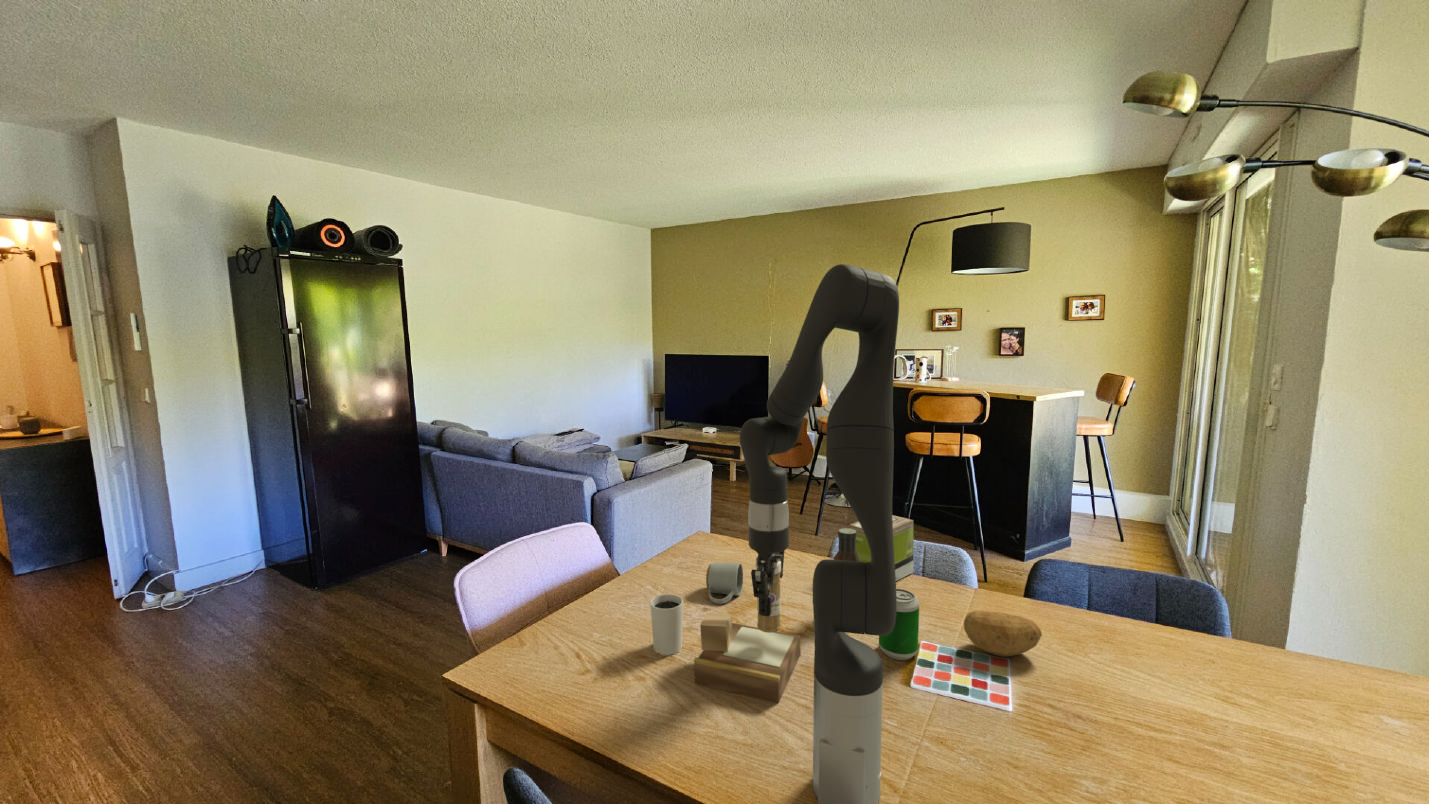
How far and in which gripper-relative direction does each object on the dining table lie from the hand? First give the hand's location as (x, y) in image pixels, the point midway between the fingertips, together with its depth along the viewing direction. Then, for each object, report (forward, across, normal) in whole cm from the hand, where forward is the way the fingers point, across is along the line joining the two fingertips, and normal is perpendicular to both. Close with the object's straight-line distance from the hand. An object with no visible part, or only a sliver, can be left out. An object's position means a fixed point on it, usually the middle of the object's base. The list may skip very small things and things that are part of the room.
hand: (768, 608), depth 109 cm
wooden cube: (+5, -5, +9) cm, 12 cm away
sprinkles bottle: (+4, 0, 0) cm, 4 cm away
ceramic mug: (+12, +25, +19) cm, 34 cm away
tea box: (+12, +50, -15) cm, 54 cm away
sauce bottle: (+12, +25, -11) cm, 30 cm away
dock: (+12, -2, +3) cm, 12 cm away
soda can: (+12, +14, -23) cm, 29 cm away
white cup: (+12, -1, +21) cm, 24 cm away
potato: (+12, +21, -42) cm, 48 cm away
